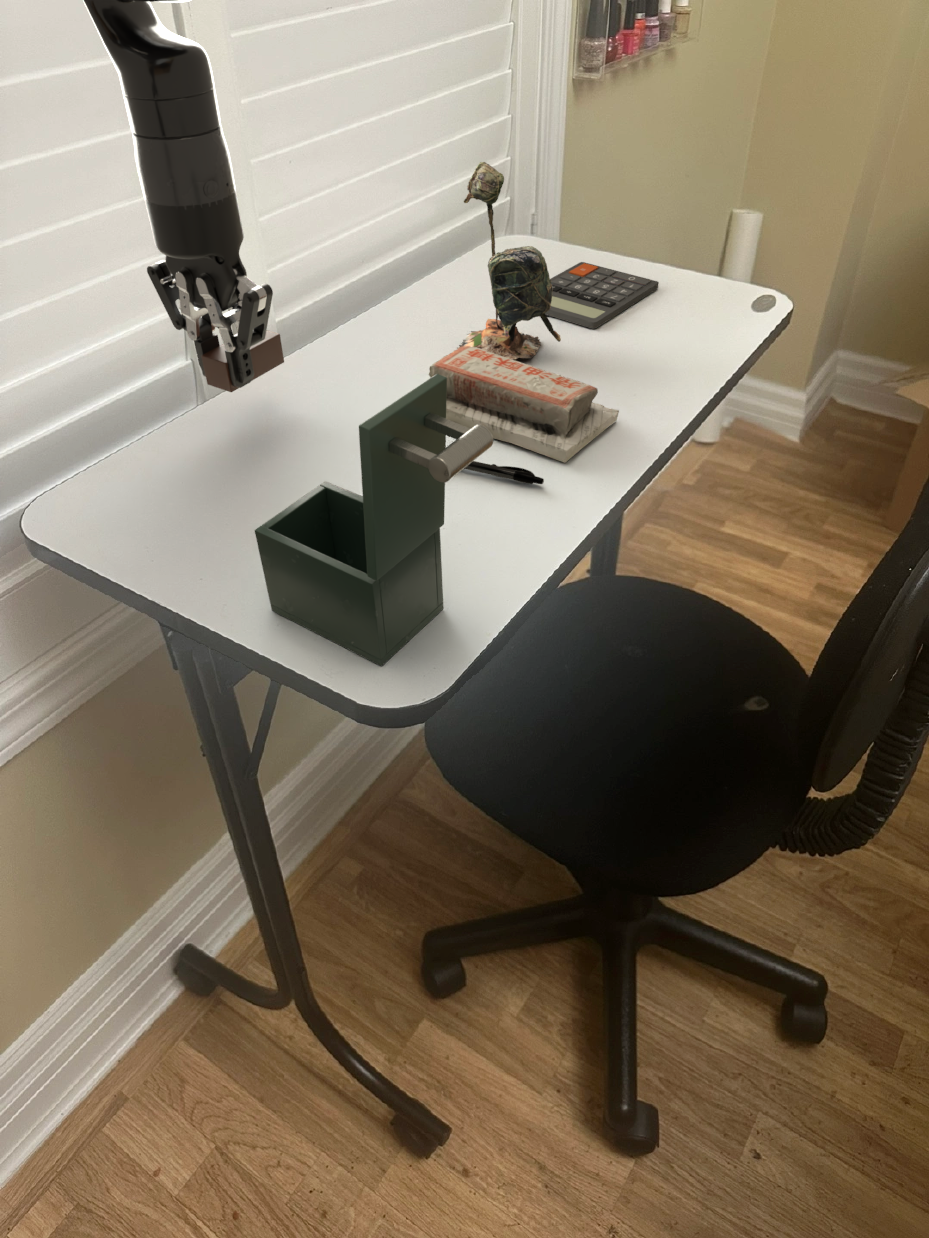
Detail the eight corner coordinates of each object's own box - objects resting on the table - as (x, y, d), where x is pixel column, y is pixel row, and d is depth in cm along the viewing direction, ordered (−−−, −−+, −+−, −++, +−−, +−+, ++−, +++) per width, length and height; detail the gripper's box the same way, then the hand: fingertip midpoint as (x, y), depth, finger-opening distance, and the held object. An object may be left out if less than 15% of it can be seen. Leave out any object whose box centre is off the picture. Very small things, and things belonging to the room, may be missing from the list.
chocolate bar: (207, 384, 87) (200, 355, 85) (260, 355, 92) (255, 326, 90) (231, 393, 86) (225, 363, 84) (284, 362, 90) (280, 333, 88)
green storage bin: (271, 610, 70) (254, 529, 64) (336, 559, 74) (325, 480, 69) (381, 666, 65) (372, 584, 60) (444, 608, 69) (440, 527, 64)
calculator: (660, 280, 113) (594, 321, 105) (659, 287, 114) (594, 329, 105) (581, 260, 119) (513, 297, 110) (581, 267, 119) (513, 305, 111)
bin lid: (358, 425, 52) (434, 458, 49) (436, 373, 56) (509, 401, 54) (366, 576, 60) (432, 610, 57) (435, 520, 64) (498, 549, 62)
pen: (547, 480, 82) (547, 469, 81) (540, 490, 81) (541, 479, 80) (409, 449, 86) (408, 439, 86) (401, 458, 85) (400, 448, 84)
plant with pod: (534, 378, 97) (542, 179, 83) (447, 354, 102) (440, 161, 88) (570, 349, 102) (583, 157, 88) (485, 327, 107) (485, 141, 93)
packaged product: (412, 367, 89) (472, 331, 95) (415, 411, 92) (473, 374, 98) (569, 420, 81) (624, 377, 86) (566, 466, 84) (619, 422, 90)
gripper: (283, 189, 75) (310, 381, 86) (164, 164, 81) (204, 347, 92) (217, 214, 70) (255, 414, 81) (96, 187, 76) (147, 377, 87)
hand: (228, 378), depth 87 cm, fingers closed on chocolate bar, 3 cm apart
